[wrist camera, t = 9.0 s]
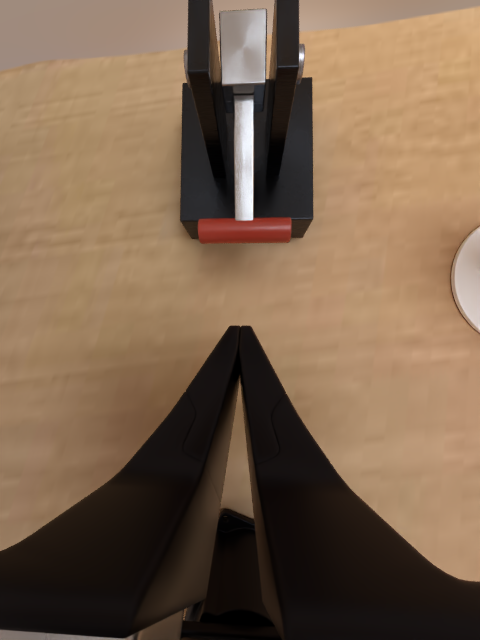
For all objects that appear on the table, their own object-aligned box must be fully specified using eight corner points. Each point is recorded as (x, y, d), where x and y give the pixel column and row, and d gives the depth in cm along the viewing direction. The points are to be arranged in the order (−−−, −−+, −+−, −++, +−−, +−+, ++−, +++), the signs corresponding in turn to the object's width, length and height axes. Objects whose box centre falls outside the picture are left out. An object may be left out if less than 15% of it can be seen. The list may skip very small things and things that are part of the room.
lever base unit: (303, 237, 21) (359, 137, 10) (191, 239, 21) (130, 145, 10) (302, 118, 21) (355, -102, 10) (193, 122, 22) (135, -84, 11)
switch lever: (286, 243, 16) (292, 241, 13) (204, 244, 16) (196, 242, 13) (294, 50, 13) (304, 5, 11) (195, 55, 13) (183, 12, 11)
